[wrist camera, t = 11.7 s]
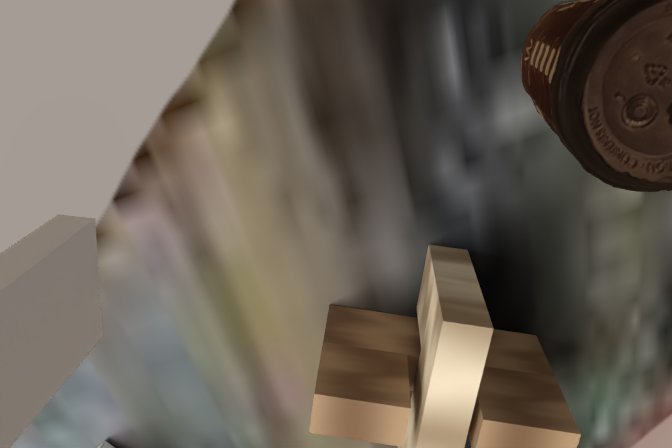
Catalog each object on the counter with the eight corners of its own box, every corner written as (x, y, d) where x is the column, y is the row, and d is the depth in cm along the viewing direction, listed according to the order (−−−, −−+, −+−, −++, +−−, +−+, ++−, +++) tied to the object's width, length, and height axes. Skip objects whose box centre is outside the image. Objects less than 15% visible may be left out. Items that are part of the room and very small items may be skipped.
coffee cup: (659, 117, 36) (800, 180, 24) (515, 150, 37) (579, 226, 25) (645, -40, 33) (796, -59, 21) (490, 2, 35) (548, 6, 22)
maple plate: (428, 244, 40) (442, 321, 30) (467, 249, 40) (493, 328, 30) (396, 410, 44) (400, 521, 35) (431, 415, 44) (444, 528, 35)
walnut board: (536, 335, 41) (581, 434, 32) (527, 366, 42) (568, 472, 33) (329, 304, 42) (314, 393, 32) (325, 336, 43) (309, 432, 33)
